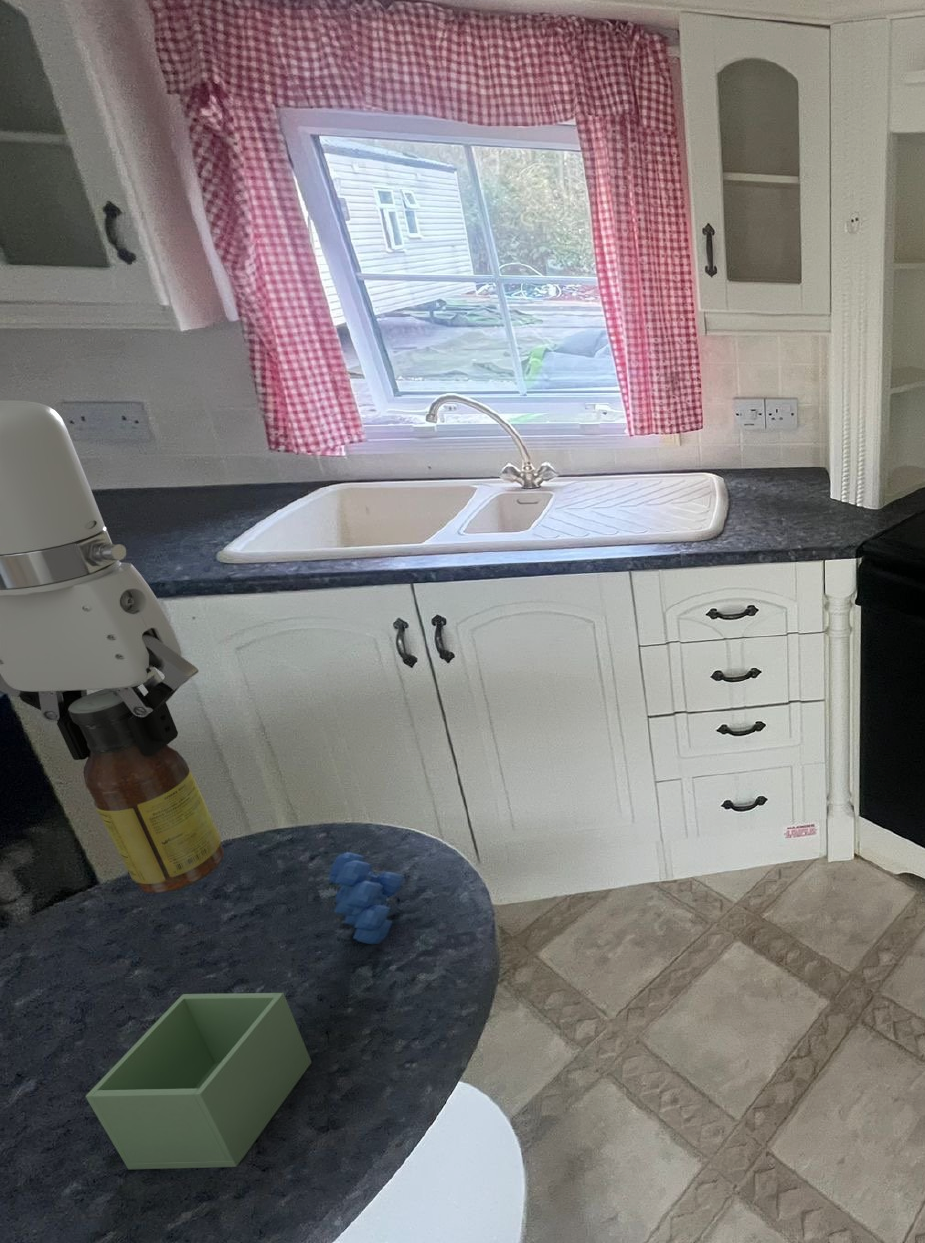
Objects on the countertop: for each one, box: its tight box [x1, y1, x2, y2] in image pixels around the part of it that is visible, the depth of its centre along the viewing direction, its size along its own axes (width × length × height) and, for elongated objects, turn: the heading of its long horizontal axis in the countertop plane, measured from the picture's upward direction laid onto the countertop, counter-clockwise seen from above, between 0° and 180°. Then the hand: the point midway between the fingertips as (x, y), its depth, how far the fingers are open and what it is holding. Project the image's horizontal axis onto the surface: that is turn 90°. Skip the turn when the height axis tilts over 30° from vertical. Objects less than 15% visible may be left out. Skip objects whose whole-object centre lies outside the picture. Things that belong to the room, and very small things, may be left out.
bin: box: [84, 992, 312, 1170], centre depth 67 cm, size 9×9×10 cm
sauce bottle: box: [68, 689, 225, 894], centre depth 68 cm, size 6×6×20 cm
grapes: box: [328, 851, 405, 945], centre depth 85 cm, size 12×7×12 cm, turn 51°
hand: (127, 746), depth 66 cm, fingers closed on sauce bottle, 4 cm apart
